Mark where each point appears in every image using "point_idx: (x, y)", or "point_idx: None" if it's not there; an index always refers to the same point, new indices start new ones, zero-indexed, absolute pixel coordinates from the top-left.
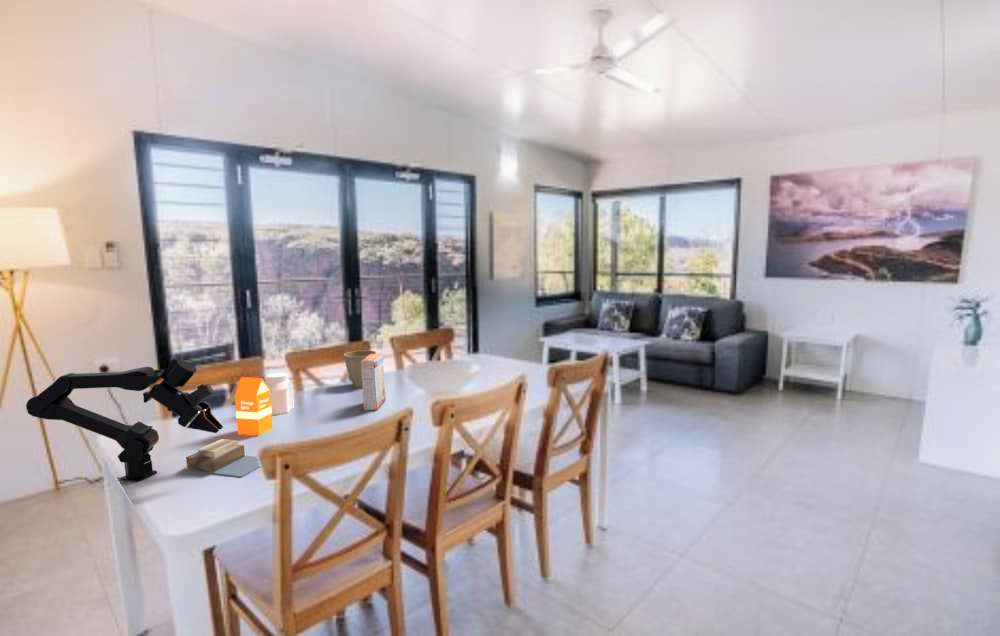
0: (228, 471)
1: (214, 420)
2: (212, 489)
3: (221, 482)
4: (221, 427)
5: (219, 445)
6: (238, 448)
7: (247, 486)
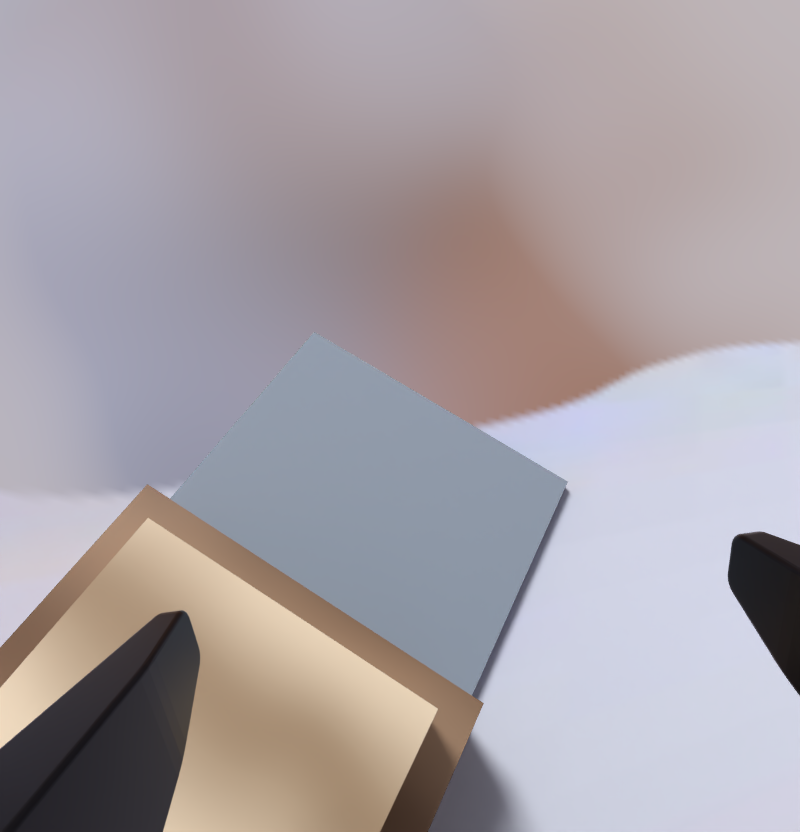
0: (467, 587)
1: (79, 804)
2: (720, 639)
3: (619, 603)
4: (186, 637)
5: (234, 701)
6: (210, 525)
7: (684, 437)
